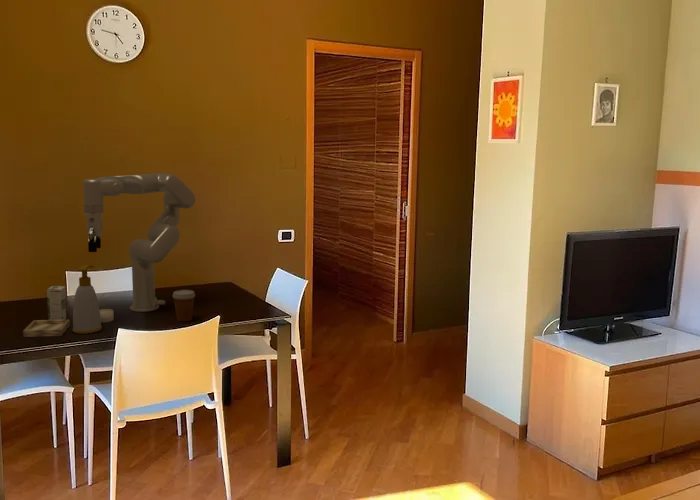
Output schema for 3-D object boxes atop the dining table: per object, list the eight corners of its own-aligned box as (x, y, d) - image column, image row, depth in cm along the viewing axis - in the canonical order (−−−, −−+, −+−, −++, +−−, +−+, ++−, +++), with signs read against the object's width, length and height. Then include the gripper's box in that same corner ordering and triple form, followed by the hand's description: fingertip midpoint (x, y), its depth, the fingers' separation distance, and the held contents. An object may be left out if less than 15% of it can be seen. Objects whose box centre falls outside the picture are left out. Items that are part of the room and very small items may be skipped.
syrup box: (52, 319, 288) (50, 285, 285) (67, 319, 288) (65, 285, 285) (48, 323, 282) (46, 289, 279) (62, 323, 282) (60, 289, 280)
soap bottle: (107, 327, 278) (105, 264, 274) (92, 335, 267) (89, 270, 262) (82, 325, 280) (79, 262, 275) (66, 333, 269) (62, 268, 264)
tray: (70, 325, 279) (69, 319, 279) (61, 335, 266) (61, 329, 265) (33, 326, 277) (33, 320, 277) (23, 336, 263) (23, 330, 263)
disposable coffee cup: (184, 323, 285) (183, 296, 283) (168, 320, 290) (167, 292, 288) (200, 318, 293) (200, 291, 291) (184, 315, 298) (184, 288, 296)
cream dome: (115, 317, 292) (114, 308, 291) (112, 322, 285) (111, 313, 285) (98, 318, 291) (97, 309, 290) (94, 322, 284) (94, 313, 283)
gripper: (99, 211, 272) (100, 253, 275) (106, 207, 289) (107, 246, 292) (80, 211, 271) (81, 253, 274) (87, 206, 288) (89, 246, 290)
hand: (94, 250), depth 283 cm, fingers open, 9 cm apart
